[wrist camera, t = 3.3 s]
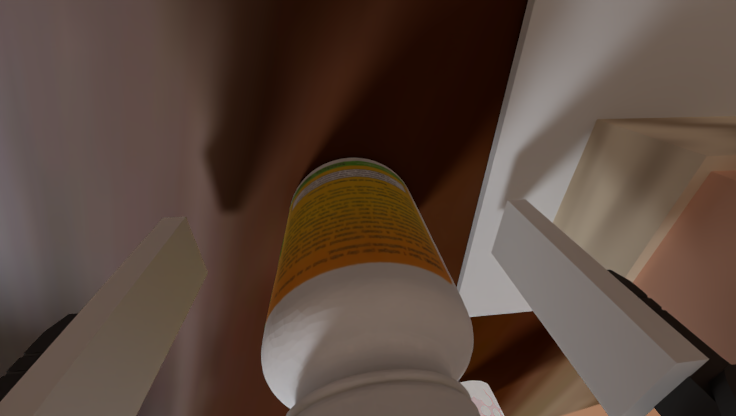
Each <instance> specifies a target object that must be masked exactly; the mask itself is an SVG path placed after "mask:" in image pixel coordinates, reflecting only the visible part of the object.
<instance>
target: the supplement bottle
mask: <svg viewBox="0 0 736 416" xmlns="http://www.w3.org/2000/svg"><path fill="white" fill-rule="evenodd" d="M473 342H474V340H473V328H472V323H471V320H470V317H469V314H468V312H467V309H466V307H465V305H464V302H463V300H462V298H461V296H460V294H459V292H458V290H457V288H456V286H455V284H454V282H453V280H452V278H451V276H450V274H449V272H448V270H447V268H446V266H445V264H444V262H443V259H442V257H441V255H440V253H439V251H438V249H437V247H436V245H435V243H434V241H433V239H432V237H431V235H430V233H429V231H428V229H427V227H426V224H425V222H424V220H423V218H422V216H421V214H420V212H419V210H418V208H417V206H416V204H415V202H414V200H413V198H412V196H411V194H410V192H409V190H408V188H407V187H406V185H405V183H404V182H403V180H402V179H401V178H400V177H399V176H398V175H397V174H396V173H395V172H394V171H392V170H391V169H390V168H388V167H386V166H385V165H383V164H381V163H378V162H376V161H373V160H370V159H365V158H343V159H338V160H334V161H331V162H328V163H326V164H323V165H321V166H320V167H318V168H316V169H315V170H313V171H312V172H311V173H310V174H308V175H307V176H306V177H305V178H304V180H303V181H302V182H301V183H300V185H299V186H298V188H297V190H296V192H295V194H294V196H293V199H292V203H291V206H290V211H289V216H288V221H287V226H286V231H285V236H284V240H283V245H282V249H281V253H280V258H279V264H278V269H277V273H276V278H275V282H274V287H273V291H272V296H271V300H270V305H269V309H268V314H267V319H266V324H265V329H264V336H263V342H262V349H261V362H262V368H263V373H264V376H265V379H266V381H267V383H268V385H269V387H270V389H271V390H272V392H273V393H274V394H275V396H276V397H277V398H278V399H279V400H280V401H281V402H282V403H283V404H284V405H286V406H287V407H288V408H290V410H289V411H288V413H287V415H286V416H480V413H479V410H478V408H477V406H476V405H475V403H474V402H473V401H472V400H471V397H470V394H469V392H468V391H467V390H466V388H465V387H464V386H463V385H462V384H461V383H459V382H458V380H459V379H460V378H461V376H462V375H463V374H464V372H465V370H466V368H467V366H468V364H469V362H470V358H471V355H472V351H473Z"/></svg>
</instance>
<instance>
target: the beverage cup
mask: <svg viewBox="0 0 736 416" xmlns="http://www.w3.org/2000/svg"><path fill="white" fill-rule="evenodd" d="M460 383H461V384H462V385H463V386H464V387H465V388H466V390H467V391H468V392H469V394H470V397H471V400H472V401H473V402H474V403H475V405H476V406H477V408H478V410H479V413H480V416H504V414H503V412H502V410H501V408H500V406H499V404H498V402H497V400H496V398H495V396H494V395H493V393H492V391H491V389H490V387H489V385H488V384H487V383H485V382H482V381H473V380H471V381H465V382H460Z"/></svg>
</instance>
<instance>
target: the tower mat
mask: <svg viewBox="0 0 736 416" xmlns="http://www.w3.org/2000/svg"><path fill="white" fill-rule="evenodd" d="M715 116H736V0H528V3H527V7H526V11H525V15H524V19H523V23H522V27H521V31H520V35H519V39H518V43H517V47H516V51H515V55H514V59H513V63H512V67H511V71H510V75H509V79H508V83H507V87H506V91H505V96H504V100H503V104H502V108H501V112H500V116H499V120H498V124H497V128H496V132H495V136H494V140H493V144H492V148H491V152H490V156H489V160H488V164H487V168H486V172H485V176H484V180H483V184H482V188H481V192H480V196H479V200H478V204H477V208H476V212H475V216H474V220H473V224H472V228H471V232H470V236H469V240H468V244H467V248H466V252H465V256H464V260H463V264H462V268H461V272H460V276H459V280H458V284H457V290H458V292H459V294H460V296H461V298H462V300H463V302H464V305H465V307H466V309H467V312H468V314H469V317H475V316H485V315H496V314H506V313H516V312H527V311H533V310H532V309H531V307H530V306H529V305H528V303H527V302H526V300H525V299H524V298H523V296H522V295H521V293H520V292H519V291H518V289H517V288H516V286H515V285H514V284H513V282H512V281H511V280H510V278H509V277H508V275H507V274H506V273H505V271H504V270H503V268H502V267H501V266H500V264H499V263H498V262H497V260H496V259H495V257H494V256H493V255H492V253H491V251H492V248H493V245H494V242H495V239H496V235H497V232H498V229H499V226H500V223H501V219H502V216H503V213H504V210H505V207H506V203H507V200H519V199H526V200H527V201H528V202H529V203H530V204H532V205H533V206H534V207H535V208H536V209H537V210H538V211H540V212H541V213H542V214H543V215H544V216H545V217H546V218H548V219H549V220H550V221H551V222H552V223H553V221H554V218H555V216H556V214H557V211H558V209H559V207H560V204H561V202H562V200H563V198H564V195H565V193H566V191H567V188H568V186H569V184H570V181H571V179H572V177H573V174H574V172H575V170H576V167H577V165H578V163H579V160H580V158H581V156H582V153H583V151H584V149H585V146H586V144H587V142H588V139H589V137H590V135H591V132H592V130H593V128H594V125H595V123H596V121H597V119H627V118H671V117H715Z"/></svg>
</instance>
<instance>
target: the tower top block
mask: <svg viewBox="0 0 736 416" xmlns="http://www.w3.org/2000/svg"><path fill="white" fill-rule="evenodd" d="M633 283H634V284H635V285H636V286H637V287H638V288H640V289H641V290H642V291H643V292H644V293H646V294H647V297H648V298H652V299H653V300H654V301H655V302H656V303H658V304H659V305H660V306H661V307H662V310H666V311H667V312H668V313H669V314H671V315H672V316H673V317H674V318H675V319H677V320H678V321H679V322H680V323H681V324H683V325H684V326H685V327H686V328H687V329H689V330H690V331H691V332H692V333H693V334H695V335H696V336H697V337H698V338H699V339H701V340H702V341H703V342H704V343H705V344H706V345H708V346H709V347H710V348H711V349H712V350H714V351H715V352H716V353H717V354H718V355H720V356H721V357H722V358H723V359H725V360H726V361H727V362H729V363H730V364H731V365H733V364H736V170H730V171H711V172H710V174H709V175H708V176H707V178H706V179H705V181H704V182H703V183H702V185H701V186H700V188H699V189H698V191H697V192H696V193H695V195H694V196H693V198H692V199H691V200H690V202H689V203H688V205H687V206H686V208H685V209H684V210H683V212H682V213H681V215H680V216H679V217H678V219H677V220H676V222H675V223H674V225H673V226H672V227H671V229H670V230H669V232H668V233H667V235H666V236H665V237H664V239H663V240H662V242H661V243H660V244H659V246H658V247H657V249H656V250H655V252H654V253H653V254H652V256H651V257H650V259H649V260H648V261H647V263H646V264H645V266H644V267H643V269H642V270H641V271H640V273H639V274H638V276H637V277H636V278H635V280H634V281H633Z"/></svg>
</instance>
